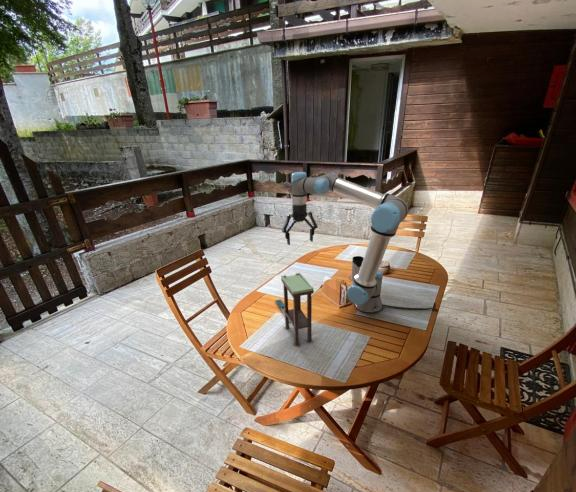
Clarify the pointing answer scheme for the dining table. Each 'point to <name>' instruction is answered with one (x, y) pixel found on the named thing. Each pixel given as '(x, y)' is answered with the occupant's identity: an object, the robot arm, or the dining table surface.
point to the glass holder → (356, 266)
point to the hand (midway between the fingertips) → (300, 242)
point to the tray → (297, 283)
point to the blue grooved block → (281, 306)
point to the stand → (298, 313)
